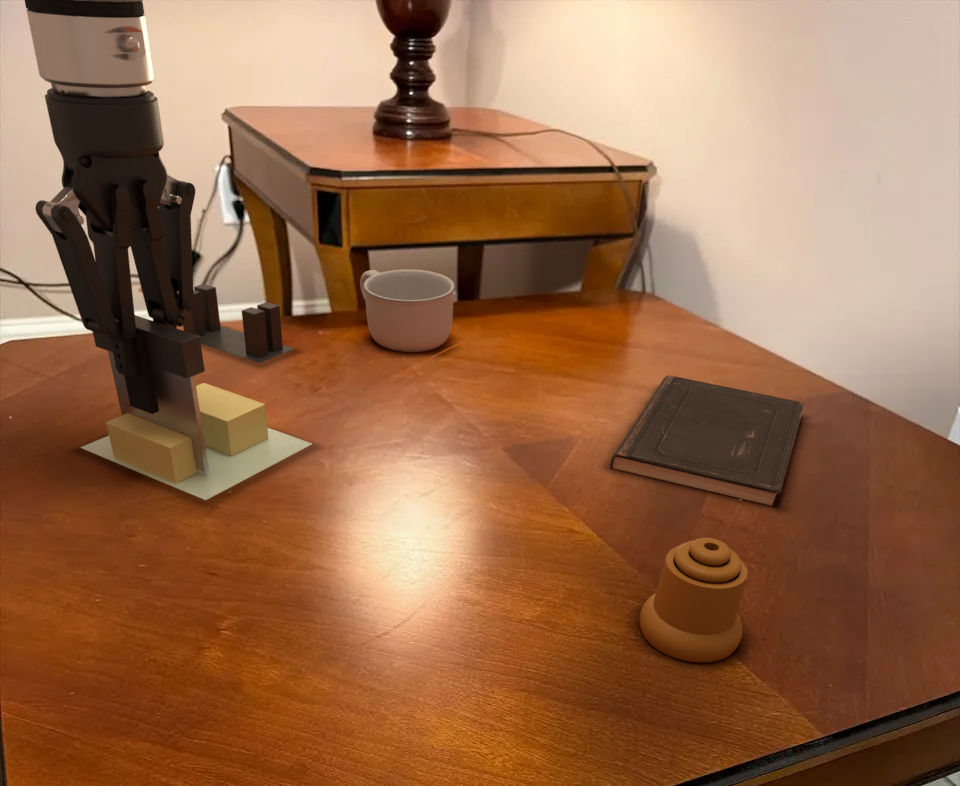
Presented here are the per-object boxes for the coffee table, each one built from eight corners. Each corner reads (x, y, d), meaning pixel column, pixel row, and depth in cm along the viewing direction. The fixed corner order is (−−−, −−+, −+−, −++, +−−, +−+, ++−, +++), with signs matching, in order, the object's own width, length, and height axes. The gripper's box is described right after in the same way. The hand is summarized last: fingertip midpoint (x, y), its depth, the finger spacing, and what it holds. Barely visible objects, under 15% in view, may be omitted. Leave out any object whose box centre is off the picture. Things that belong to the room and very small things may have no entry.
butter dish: (81, 457, 81) (79, 447, 80) (194, 409, 90) (193, 400, 90) (207, 510, 75) (205, 499, 74) (313, 452, 84) (312, 443, 84)
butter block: (170, 432, 84) (164, 398, 81) (208, 416, 87) (203, 382, 85) (231, 456, 81) (227, 421, 78) (268, 438, 84) (265, 403, 82)
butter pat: (113, 457, 79) (105, 421, 77) (135, 447, 81) (127, 412, 78) (176, 484, 76) (169, 447, 74) (197, 473, 78) (191, 437, 75)
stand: (173, 342, 105) (165, 291, 101) (210, 329, 109) (203, 280, 105) (260, 371, 99) (255, 318, 96) (295, 356, 104) (291, 305, 100)
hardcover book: (798, 421, 98) (804, 402, 96) (774, 513, 81) (780, 491, 79) (660, 392, 102) (663, 373, 100) (608, 474, 85) (612, 452, 83)
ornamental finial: (705, 684, 60) (617, 636, 64) (755, 638, 65) (670, 596, 69) (733, 590, 56) (636, 544, 59) (785, 548, 60) (692, 507, 64)
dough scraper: (116, 442, 80) (87, 311, 73) (134, 434, 82) (106, 305, 74) (203, 477, 76) (181, 342, 69) (219, 469, 78) (200, 335, 70)
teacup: (468, 355, 107) (472, 288, 102) (392, 369, 102) (392, 300, 97) (410, 321, 116) (411, 258, 111) (337, 332, 111) (335, 267, 106)
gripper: (42, 102, 55) (116, 445, 69) (217, 87, 65) (249, 388, 80) (-32, 87, 58) (54, 420, 72) (146, 75, 68) (190, 368, 82)
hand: (156, 403), depth 76 cm, fingers closed on dough scraper, 2 cm apart
